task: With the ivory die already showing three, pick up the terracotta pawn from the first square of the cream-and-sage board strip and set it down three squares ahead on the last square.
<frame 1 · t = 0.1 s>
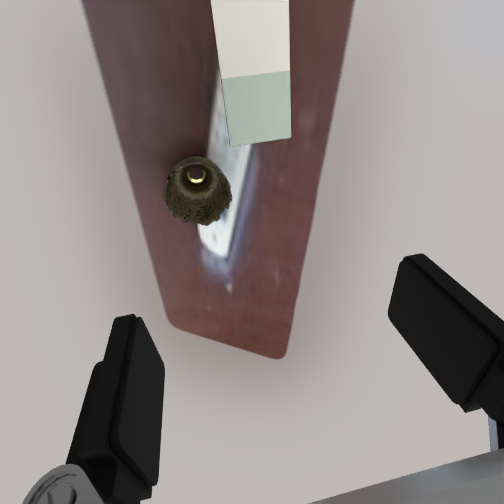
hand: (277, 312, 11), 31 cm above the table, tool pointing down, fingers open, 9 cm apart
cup: (196, 172, 39), on the table
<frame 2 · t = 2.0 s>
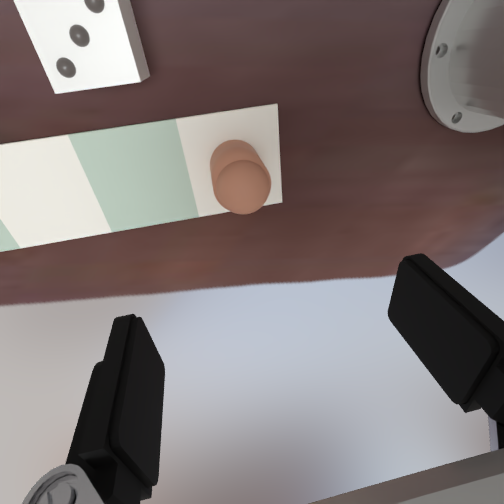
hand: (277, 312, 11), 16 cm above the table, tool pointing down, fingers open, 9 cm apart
pawn: (234, 165, 23), resting on board
die: (102, 38, 18), on the table
board: (93, 187, 23), on the table
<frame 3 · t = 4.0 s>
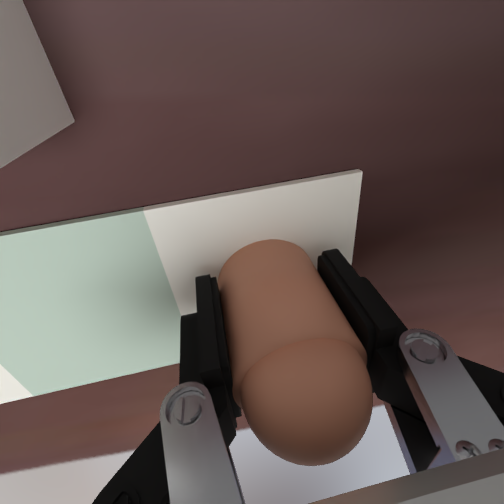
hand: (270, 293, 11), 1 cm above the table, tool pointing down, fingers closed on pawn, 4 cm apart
pawn: (266, 280, 12), resting on board, touching gripper
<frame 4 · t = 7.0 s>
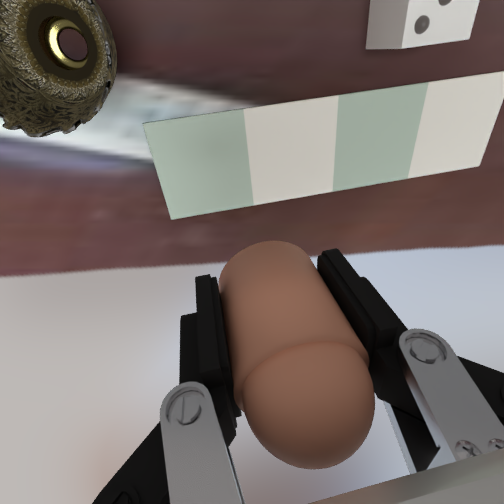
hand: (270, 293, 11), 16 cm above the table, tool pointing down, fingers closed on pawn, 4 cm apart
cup: (74, 44, 18), on the table
pawn: (267, 282, 12), point 15 cm above the table, touching gripper
die: (399, 5, 20), on the table
board: (333, 147, 25), on the table
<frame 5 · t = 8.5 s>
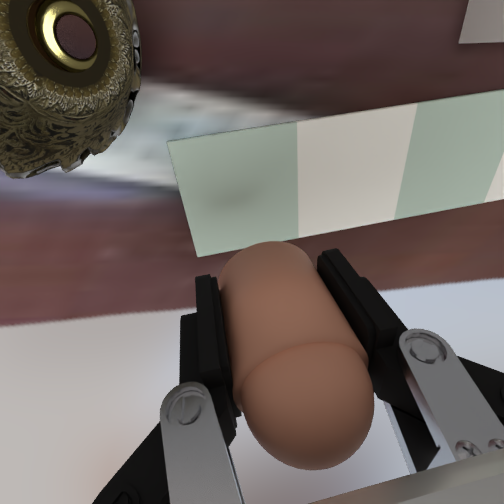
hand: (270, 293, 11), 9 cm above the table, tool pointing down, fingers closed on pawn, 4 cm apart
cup: (77, 37, 13), on the table
pawn: (266, 282, 12), point 9 cm above the table, touching gripper
board: (401, 167, 20), on the table
when the fingers open (3 cm above the table, at t = 10.0 s): pawn drops 2 cm, resting on board.
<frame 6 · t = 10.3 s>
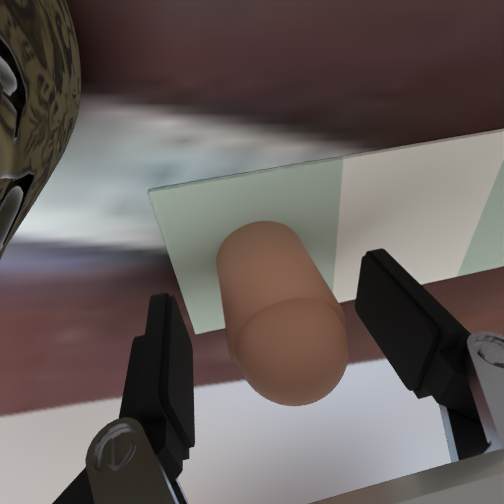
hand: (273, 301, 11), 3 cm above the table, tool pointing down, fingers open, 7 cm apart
pawn: (260, 259, 13), resting on board
board: (476, 212, 14), on the table
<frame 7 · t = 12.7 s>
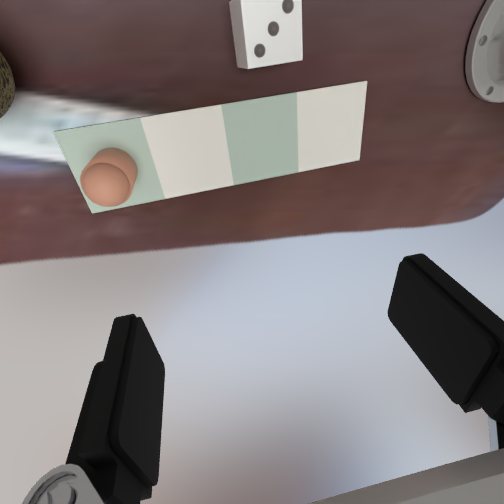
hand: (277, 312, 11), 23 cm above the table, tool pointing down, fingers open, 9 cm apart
pawn: (115, 168, 28), resting on board
die: (258, 33, 25), on the table
board: (227, 147, 30), on the table
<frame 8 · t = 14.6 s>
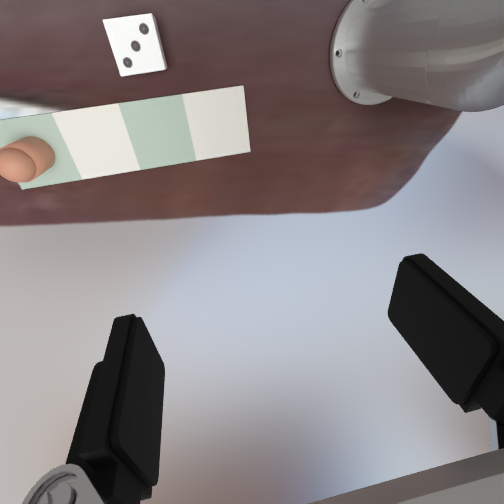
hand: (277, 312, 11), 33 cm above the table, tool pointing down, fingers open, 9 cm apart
pawn: (36, 153, 35), resting on board
die: (141, 46, 32), on the table
board: (130, 138, 37), on the table
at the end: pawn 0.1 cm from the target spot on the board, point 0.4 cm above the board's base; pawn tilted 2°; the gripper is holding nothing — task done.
